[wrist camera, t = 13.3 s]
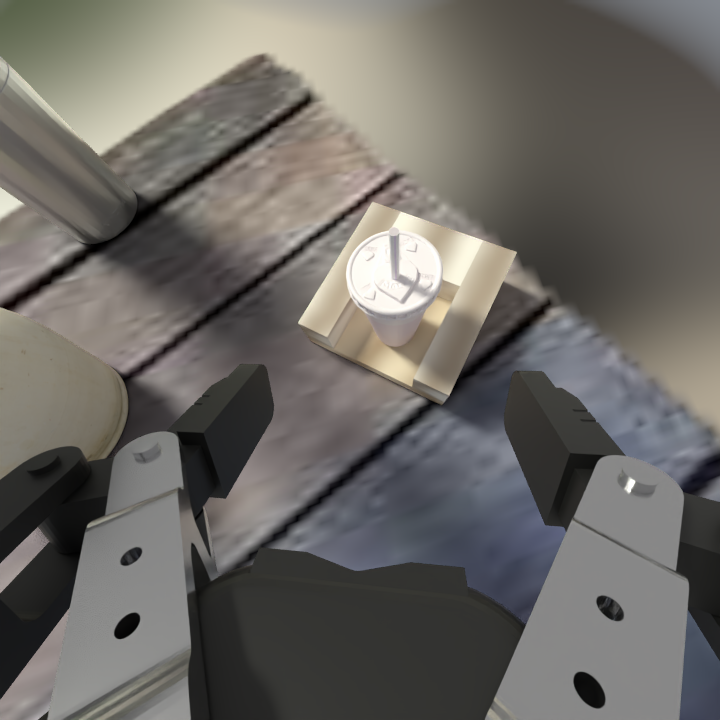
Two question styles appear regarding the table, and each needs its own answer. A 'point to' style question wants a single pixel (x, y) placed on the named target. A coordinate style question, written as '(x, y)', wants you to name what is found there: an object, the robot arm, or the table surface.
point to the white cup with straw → (394, 282)
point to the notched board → (440, 321)
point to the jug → (54, 395)
